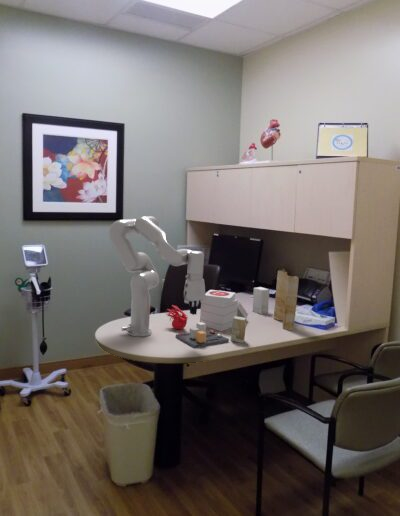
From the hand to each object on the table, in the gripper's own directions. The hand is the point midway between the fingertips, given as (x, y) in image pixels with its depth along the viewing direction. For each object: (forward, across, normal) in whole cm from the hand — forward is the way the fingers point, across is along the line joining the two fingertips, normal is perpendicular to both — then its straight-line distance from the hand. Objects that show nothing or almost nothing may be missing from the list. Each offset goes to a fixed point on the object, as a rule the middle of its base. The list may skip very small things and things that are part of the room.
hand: (193, 313), depth 230 cm
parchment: (+16, +69, +3) cm, 71 cm away
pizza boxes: (+16, +38, +21) cm, 46 cm away
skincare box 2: (+16, +74, +28) cm, 81 cm away
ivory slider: (+14, +12, +9) cm, 20 cm away
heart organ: (+15, +8, +23) cm, 29 cm away
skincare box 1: (+16, +24, -7) cm, 30 cm away
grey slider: (+13, +4, +3) cm, 14 cm away
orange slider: (+14, +4, -3) cm, 14 cm away
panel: (+15, +9, +3) cm, 18 cm away
